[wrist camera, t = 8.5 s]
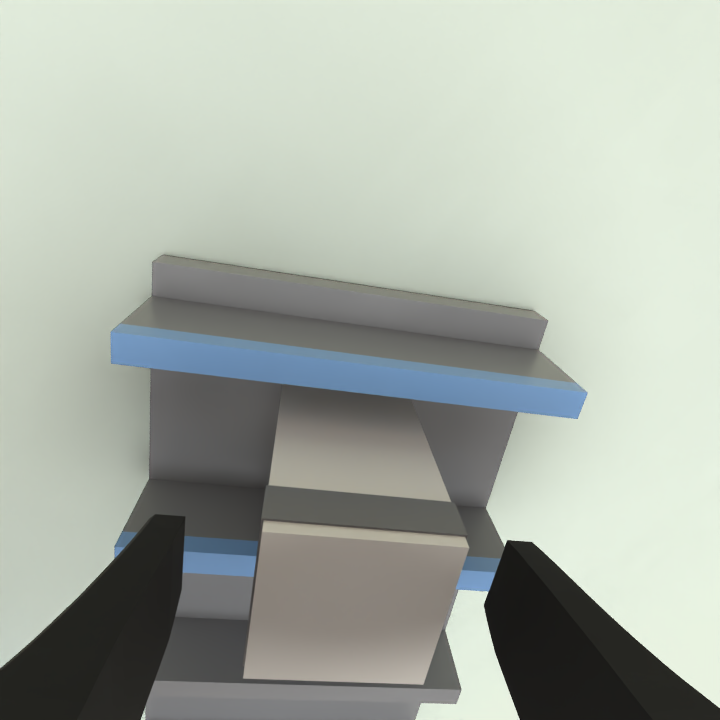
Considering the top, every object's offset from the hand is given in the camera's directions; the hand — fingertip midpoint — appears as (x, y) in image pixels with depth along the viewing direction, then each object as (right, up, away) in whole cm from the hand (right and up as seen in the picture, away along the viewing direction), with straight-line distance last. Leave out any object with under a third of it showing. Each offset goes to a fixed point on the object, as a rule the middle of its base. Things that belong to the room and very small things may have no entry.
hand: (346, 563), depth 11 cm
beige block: (0, +2, +6) cm, 6 cm away
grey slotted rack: (-2, -3, +9) cm, 9 cm away
